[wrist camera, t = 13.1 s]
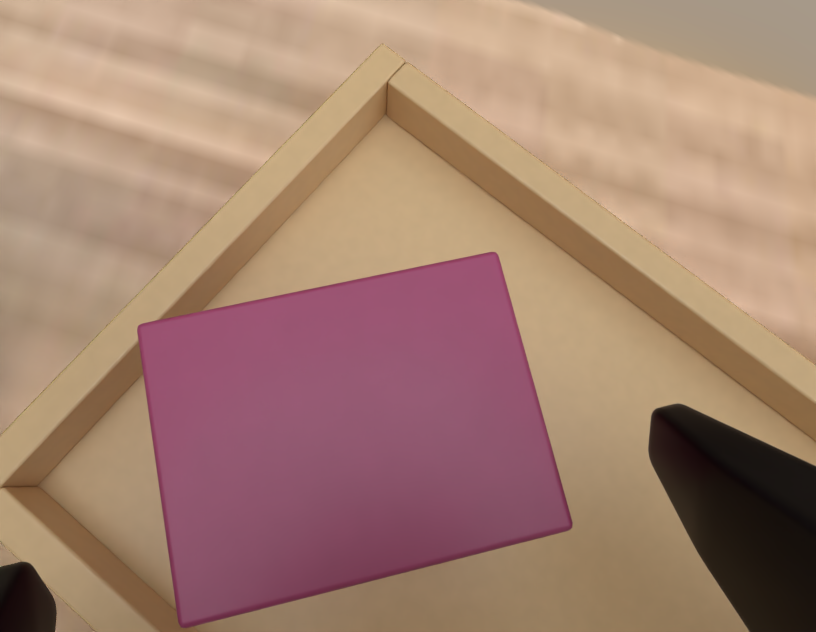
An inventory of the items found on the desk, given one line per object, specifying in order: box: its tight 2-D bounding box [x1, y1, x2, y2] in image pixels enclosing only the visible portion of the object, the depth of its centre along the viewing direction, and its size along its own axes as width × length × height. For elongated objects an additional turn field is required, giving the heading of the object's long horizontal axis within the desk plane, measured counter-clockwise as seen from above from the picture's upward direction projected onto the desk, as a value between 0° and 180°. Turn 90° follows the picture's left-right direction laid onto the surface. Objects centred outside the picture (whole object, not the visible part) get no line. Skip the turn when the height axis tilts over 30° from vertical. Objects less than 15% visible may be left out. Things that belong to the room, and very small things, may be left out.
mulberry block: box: [137, 252, 573, 628], centre depth 12 cm, size 4×5×7 cm
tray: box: [0, 44, 816, 632], centre depth 15 cm, size 18×14×2 cm
